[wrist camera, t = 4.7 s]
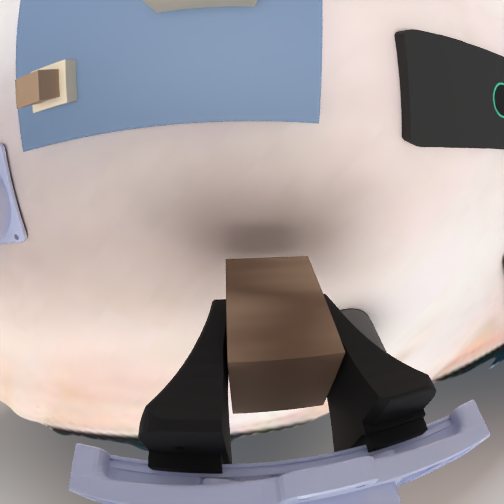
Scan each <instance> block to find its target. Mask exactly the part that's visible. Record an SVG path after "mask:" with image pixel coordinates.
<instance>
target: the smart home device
mask: <svg viewBox="0 0 504 504" xmlns="http://www.w3.org/2000/svg"><path fill="white" fill-rule="evenodd" d="M395 41H396V48H397V57H398V66H399V77H400V90H401V109H402V138H403V139H404V140H405V141H407V142H409V143H412V144H414V145H416V146H419V147H450V148H466V147H467V148H492V149H504V57H503V56H500V55H498V54H495V53H493V52H490V51H488V50H485V49H482V48H480V47H477V46H474V45H471V44H468V43H465V42H463V41H460V40H457V39H453V38H450V37H446V36H443V35H437V34H433V33H429V32H425V31H420V30H412V29H411V30H405V31H399V32H397V33H395Z"/></svg>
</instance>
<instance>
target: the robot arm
mask: <svg viewBox="0 0 504 504" xmlns="http://www.w3.org/2000/svg"><path fill="white" fill-rule="evenodd" d="M17 235H18V236H17ZM26 239H27V234H26V231H25V228H24V225H23V222H22V218H21V215H20V212H19V208H18V205H17V201H16V197H15V193H14V189H13V185H12V181H11V177H10V172H9V167H8V162H7V157H6V151H5V147H4V145H3V144H0V244H4V243H16V242H24V241H25V240H26ZM323 295H324V298H325V300H326V303H327V305H328V308H329V310H330V313H331V315H332V318H333V321H334V323H335V326H336V328H337V331H338V334H339V336H340V339H341V342H342V344H343V347H344V350H345V355H344V357H343V360H342V362H341V365H340V367H339V370H338V372H337V374H336V377H335V379H334V381H333V384H332V386H331V388H330V391H329V393H328V395H327V400H328V405H329V411H330V417H331V425H332V433H333V443H334V452H332V453H327V454H323V455H317V456H311V457H304V458H298V459H291V460H283V461H273V462H262V463H247V464H232V456H231V442H230V427H229V409H228V377H229V371H228V357H227V313H226V299H222V300H214V301H212V306H211V309H210V313H209V316H208V318H207V321H206V323H205V326H204V328H203V330H202V332H201V335H200V337H199V338H198V340H197V342H196V344H195V346H194V348H193V350H192V351H191V353H190V355H189V356H188V358H187V359H186V361H185V362H184V364H183V365H182V367H181V368H180V369H179V371H178V372H177V374H176V375H175V376H174V377H173V379H172V380H171V381H170V382H169V383H168V384H167V385H166V387H165V388H164V389H163V390H162V391H161V392H160V393H159V394H158V395H157V396H156V397H155V398H154V399H153V400H152V401H151V402H150V403H149V404H148V405H146V407H145V409H144V412H143V415H142V418H141V421H140V426H139V435H138V438H139V439H140V441H141V442H142V443H143V444H144V445H145V446H146V447H147V448H148V449H149V457H148V461H147V460H139V459H132V458H125V457H119V456H114V455H109V454H108V452H106V451H105V450H103V449H101V448H98V447H93V446H89V445H84V444H80V443H77V444H76V448H75V453H74V459H73V464H72V470H71V476H70V483H69V490H70V491H72V492H74V493H76V494H78V495H81V496H83V497H85V498H88V499H90V500H93V501H96V502H100V503H104V504H401V502H400V498H399V494H398V491H397V487H398V486H401V485H403V484H405V483H408V482H410V481H412V480H415V479H417V478H419V477H421V476H424V475H426V474H428V473H430V472H432V471H434V470H436V469H438V468H440V467H442V466H444V465H445V464H447V463H449V462H451V461H453V460H455V459H457V458H459V457H460V456H462V455H464V454H465V453H467V452H468V451H470V450H471V449H473V448H474V447H476V446H477V445H478V444H480V443H481V442H482V441H484V440H485V439H486V438H488V437H489V436H490V433H489V431H488V429H487V427H486V424H485V422H484V420H483V418H482V416H481V414H480V411H479V410H478V407H477V405H476V403H475V401H474V400H471V401H469V402H467V403H465V404H463V405H461V406H459V407H457V408H456V409H455V410H454V411H452V412H451V413H450V415H449V416H446V417H444V418H442V419H439V420H437V421H435V422H432V423H430V424H427V425H426V423H425V421H424V418H423V417H424V416H425V412H424V407H425V406H426V405H427V404H428V403H429V402H430V401H431V400H432V398H433V397H434V396H435V393H436V389H435V387H434V385H433V383H432V381H431V379H430V377H429V376H428V375H427V374H425V373H423V372H420V371H418V370H416V369H414V368H412V367H410V366H408V365H406V364H404V363H402V362H401V361H399V360H397V359H395V358H394V357H392V356H391V355H389V354H388V353H386V352H385V351H383V350H382V349H381V348H379V347H378V346H377V345H375V344H374V343H373V342H372V341H370V340H369V339H368V338H367V337H366V336H365V335H364V334H362V333H361V332H360V331H359V330H358V329H357V328H356V327H355V326H354V325H353V324H352V323H351V322H350V321H349V320H348V319H347V318H346V317H345V315H344V314H343V313H342V312H341V311H340V310H339V309H338V308H337V307H336V305H335V304H334V303H333V302H332V301H331V300H330V299H329V297H328V296H327V295H326V294H323ZM258 479H261V480H258ZM239 480H253V481H245V482H239Z"/></svg>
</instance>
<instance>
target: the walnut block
mask: <svg viewBox="0 0 504 504" xmlns="http://www.w3.org/2000/svg"><path fill="white" fill-rule="evenodd" d="M226 313H227V357H228V371H229V382H230V391H231V401H232V410H233V414H235V413H254V412H268V411H279V410H289V409H297V408H305V407H312V406H319V405H323V404H324V402H325V400H326V397H327V395H328V393H329V391H330V388H331V386H332V384H333V381H334V379H335V377H336V374H337V372H338V370H339V367H340V365H341V362H342V360H343V357H344V355H345V350H344V347H343V344H342V342H341V339H340V336H339V334H338V331H337V328H336V326H335V323H334V321H333V318H332V315H331V313H330V310H329V308H328V305H327V303H326V300H325V298H324V295H323V293H322V290H321V288H320V285H319V283H318V280H317V278H316V275H315V273H314V270H313V268H312V266H311V263H310V261H309V258H308V256H300V257H274V258H246V259H226Z"/></svg>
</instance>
